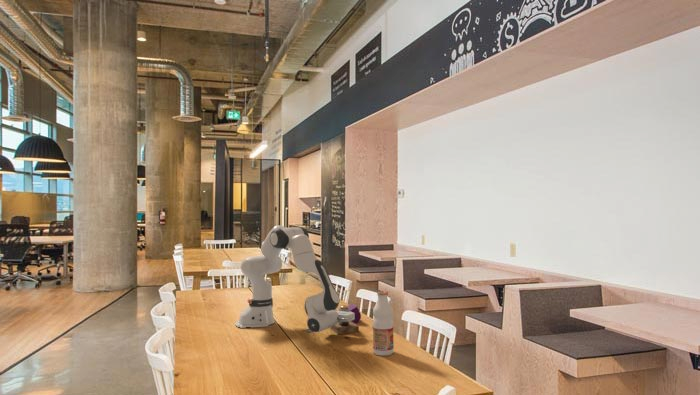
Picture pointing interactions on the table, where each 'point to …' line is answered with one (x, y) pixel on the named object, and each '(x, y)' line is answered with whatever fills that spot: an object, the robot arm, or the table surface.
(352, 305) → the mounting bracket
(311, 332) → the gasket plate
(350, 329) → the stand
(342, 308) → the grey can
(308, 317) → the robot arm
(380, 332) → the fruit juice
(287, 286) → the table surface
